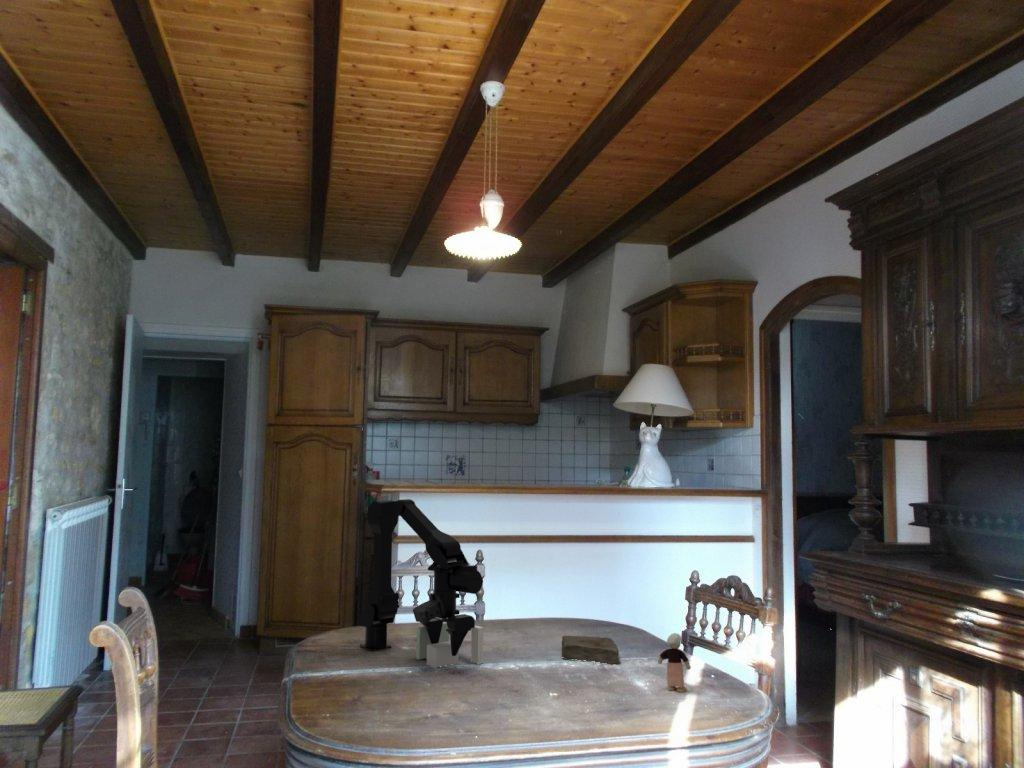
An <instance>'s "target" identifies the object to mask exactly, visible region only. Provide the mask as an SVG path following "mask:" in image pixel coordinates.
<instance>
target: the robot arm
mask: <svg viewBox="0 0 1024 768" xmlns="http://www.w3.org/2000/svg"><path fill="white" fill-rule="evenodd" d="M366 513H367V523H368V526H369V527H370V529H371V531H372V533H373V550H372V551H373V553H372V554H373V556H372V557H373V561H372V562H373V563H372V573H373V574H372V587H371V590H369V591H370V592H369V593H368V595H367V596H366V602H365V607H364V609H363V611H361V612H360V614H359V615H358V616H357V623H358V625H359V626H360V627H364V628H365V629H364V632H365V633H364V643H361V644H359V647H360V648H363V649H365V650H367V651H370V652H373V651H378V650H379V651H380V650H383V649H384V650H387V649H391V648H392V645H390V644H388V641H387V640H388V624H393V623H394V622H395V618H396V615H397V614H398V610H399V608H400V604H399V602H400V601H399V599H400V594H399V592H395V590H394V589H393V587H392V563H393V562H392V560H393V559H392V558H393V553H392V552H393V533H394V532H395V531H394V530H395V528H396V527H397V525H398V522H399V517H401V518H402V520H404V522H406V524H407V525H408V526H409V527H410V528H411V529H412V531H414V533H415V534H416V535H417V536H418V537H419V539H421V541H422V542H423V543H424V547H425V551H426V553H427V554H428V556H429V558H430V559H431V560H432V564H431V565H429V566H428V568H427V571H431V572H433V592H432V593H430V594H429V596H428V597H429V598H428V599H429V600H427V601H425V602H423V603H421V604H419V605H417V606H416V607H414V608H413V609H412V612H413V616H414V619H415V622H417V623H419V624H422V625H423V627H424V626H425V627H426V629H427V632H428V635H429V638H430V642H431V644H436V643H439V639H440V634H441V630H442V625H443V621H444V622H447V626H448V628H449V629H446V631H447V632H448V633H449V641H451V653H452V656H456V655H457V653H458V650H459V651H460V648H461V647H462V644H463V641H464V639H465V637H467V634H468V633H469V632H470V631H472V629H471V628H475V625H476V619H475V617H473V616H472V615H469V614H465V613H462V614H461V613H460V610H459V609H457V599H459V598H460V596H461V595H460V593H467V594H472V595H476V594H478V593H479V592H480V591H481V590H482V587H483V582H484V579H483V577H482V574H481V571H479V570H478V566H477V565H475V564H473V565H469V564H470V563H469V562H468V559H467V558H466V556H465V554H464V552H463V550H462V546H461V544H460V542H459V541H458V540H457V539H455V537H453V536H452V535H450V534H448V533H446V532H443V531H441V530H440V529H439V528H437V526H436V525H435V524H434V523H433V522H432V521H431V520H430V519H429V518H428V517H427V516H426V515H425V514H424V512H423V511H422V510H421V509H420V508H419V507H418V506H417V505H416V502H415V501H414V500H413V499H411V498H406V499H397V500H395V501H394V500H393V499H389V500H387V499H386V500H375V501H372V502H371V503H370V504H369V505H368V506H367V512H366Z"/></svg>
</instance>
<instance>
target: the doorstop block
mask: <svg viewBox="0 0 1024 768" xmlns="http://www.w3.org/2000/svg"><path fill="white" fill-rule="evenodd" d="M459 651H460V649H459V650H458V653H457V655H456V656H452V653H451V640H449V641H448V642H442V643H436V644H430V645H427V658H426V666H428V665H430V666H429V667H431V666H432V667H431V668H433V667H435V668H434V669H438V668H437V667H440V666H445V665H450V666H452V665H451V664H456V665H459V660H460V659H459V658H460V657H459V655H460V652H459ZM445 667H446V666H445ZM440 668H441V667H440Z"/></svg>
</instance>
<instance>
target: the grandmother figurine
mask: <svg viewBox="0 0 1024 768" xmlns="http://www.w3.org/2000/svg"><path fill="white" fill-rule="evenodd" d="M681 642H682V636H681V635H680V633H676V632H673V633H671V634H670V635H669V636H668V637H667V639H666V643H667V644H668V645H669V647H670V648H667V649H664V650H663V651H662V652H661V653H660V654H659V658H658V660H657V664H659V665H661V664H663V661H664V660H667V666H666V680H667V682H666V683H667V689H668V690H667V689H666V690H667V691H670V690H673V691H675V690H676V692H679V693H684V692H687V691H688V689H687V687H686V686H685V683H684V666H683V664H684V665H685V667H686V668H685V669H686V670H691V665H690V662H689V658H688V657H687V655H686V654H685V652H684V651H683V650H681V649H680V646H681ZM682 662H683V663H682ZM677 687H678V688H677Z"/></svg>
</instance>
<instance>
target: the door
mask: <svg viewBox="0 0 1024 768" xmlns="http://www.w3.org/2000/svg"><path fill="white" fill-rule="evenodd" d="M446 629H449V628H448V626H447V622H443V625H442V630H441V634H440V639H439V643H442V642H448V632H447V631H446ZM415 643H416V646H415V647H416V651H415V659H416V660H419V661H420V660H423V659H427V645H430V644H431V642H430V638H429V635H428V632H427V629H426V627H425V626H424V625H423V626H420V627H416V638H415Z"/></svg>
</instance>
